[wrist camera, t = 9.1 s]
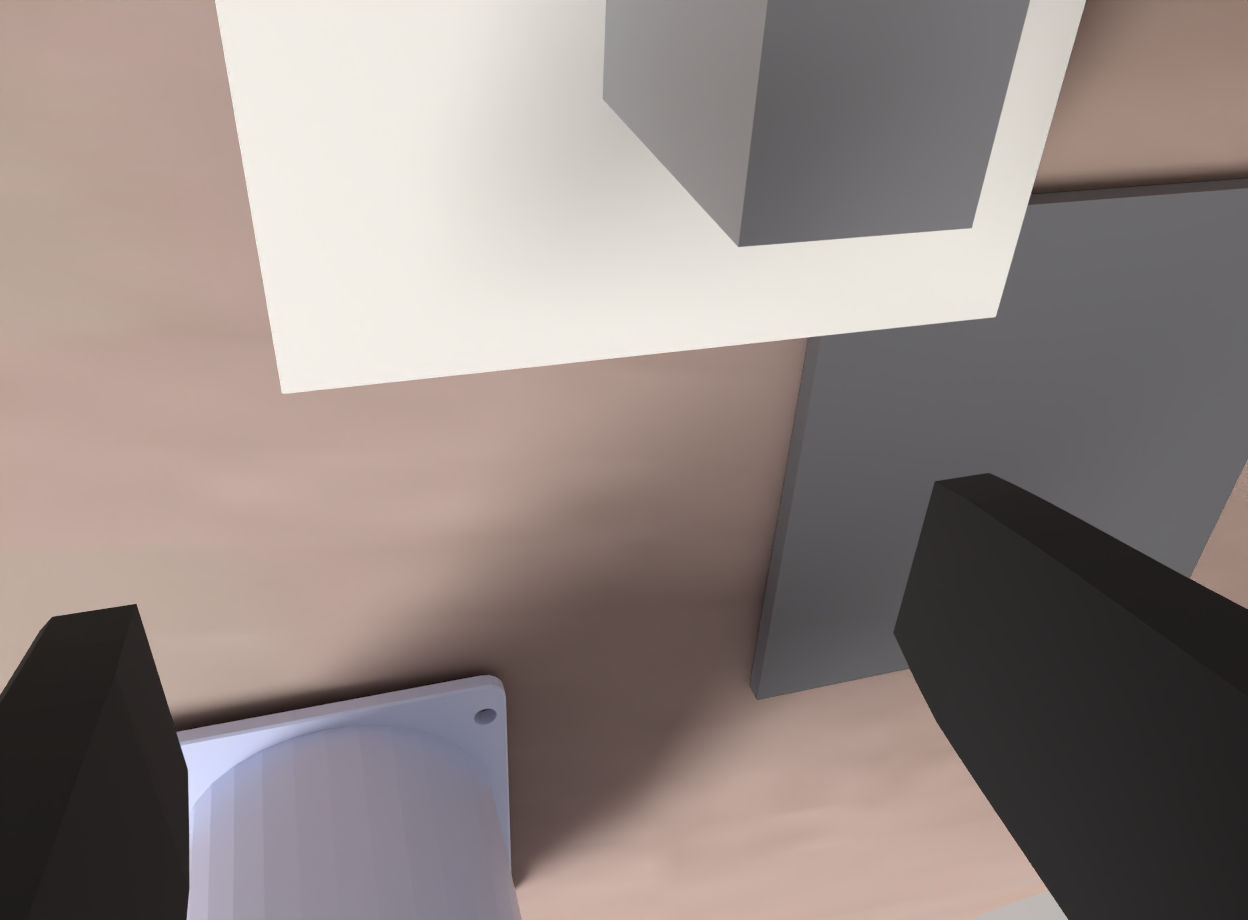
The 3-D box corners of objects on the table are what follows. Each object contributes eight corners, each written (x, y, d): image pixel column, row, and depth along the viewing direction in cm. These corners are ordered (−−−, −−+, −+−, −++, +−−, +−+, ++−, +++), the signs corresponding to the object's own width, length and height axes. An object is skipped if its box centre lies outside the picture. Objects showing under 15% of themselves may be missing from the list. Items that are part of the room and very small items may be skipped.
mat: (1159, 602, 30) (1171, 614, 30) (749, 685, 27) (757, 699, 26) (1364, 169, 23) (1384, 177, 22) (830, 208, 19) (842, 219, 19)
